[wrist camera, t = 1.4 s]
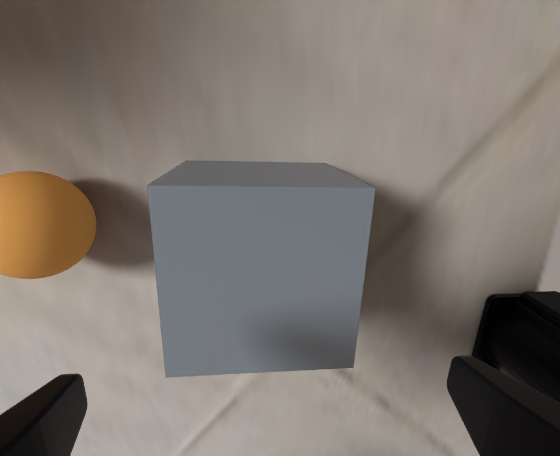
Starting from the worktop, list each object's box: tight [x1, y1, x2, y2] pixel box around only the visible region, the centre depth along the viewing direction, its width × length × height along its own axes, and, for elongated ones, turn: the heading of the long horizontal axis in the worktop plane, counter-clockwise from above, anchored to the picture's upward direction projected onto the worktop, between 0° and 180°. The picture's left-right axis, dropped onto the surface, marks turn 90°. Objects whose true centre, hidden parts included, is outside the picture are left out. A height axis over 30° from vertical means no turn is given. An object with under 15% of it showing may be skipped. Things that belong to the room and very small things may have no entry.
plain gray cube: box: [147, 161, 375, 377], centre depth 15 cm, size 8×8×7 cm
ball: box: [0, 171, 97, 279], centre depth 15 cm, size 5×5×5 cm
